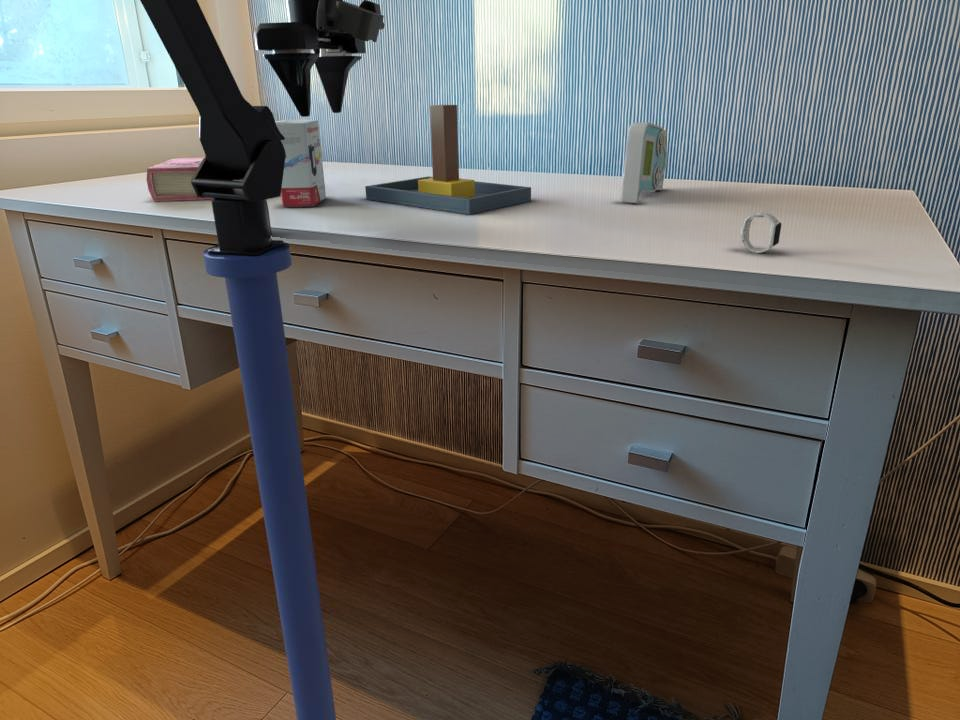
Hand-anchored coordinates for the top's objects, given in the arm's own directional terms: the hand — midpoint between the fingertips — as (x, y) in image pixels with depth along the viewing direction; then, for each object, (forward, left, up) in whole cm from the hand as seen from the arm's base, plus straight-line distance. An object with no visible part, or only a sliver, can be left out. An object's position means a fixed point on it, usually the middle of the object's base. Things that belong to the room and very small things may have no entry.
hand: (321, 114), depth 88 cm
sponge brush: (+15, -12, -12) cm, 23 cm away
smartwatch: (-12, -53, -13) cm, 56 cm away
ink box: (+10, +9, -13) cm, 19 cm away
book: (+17, +30, -13) cm, 37 cm away
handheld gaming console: (+23, -41, -13) cm, 49 cm away
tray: (+15, -12, -13) cm, 23 cm away
